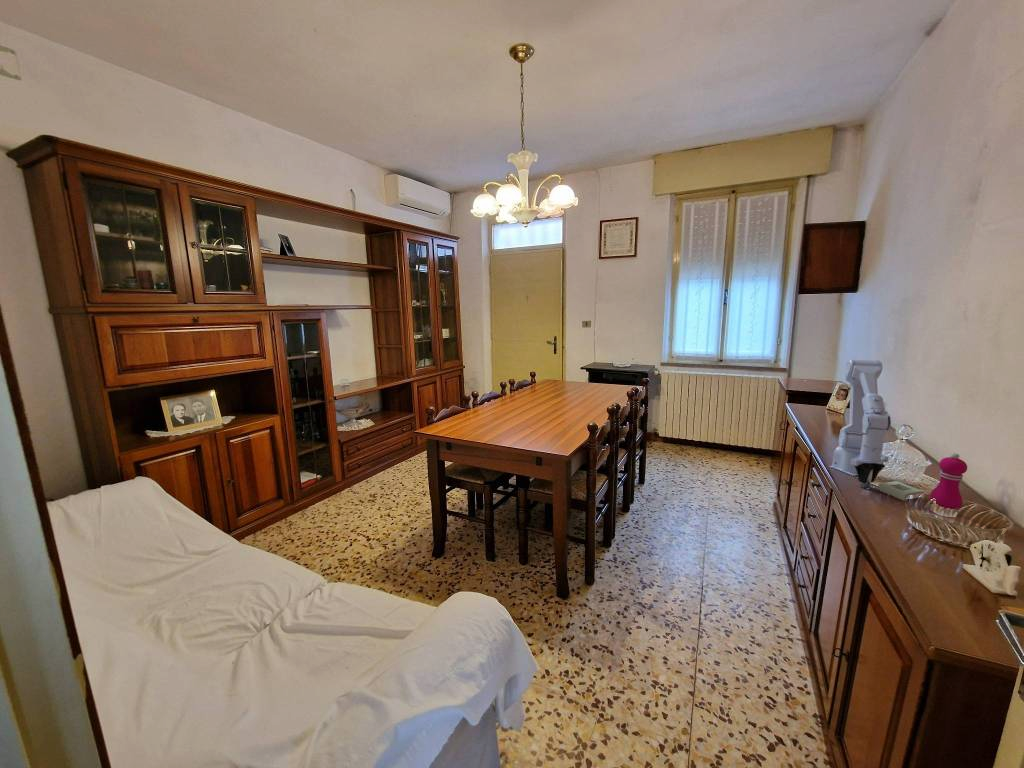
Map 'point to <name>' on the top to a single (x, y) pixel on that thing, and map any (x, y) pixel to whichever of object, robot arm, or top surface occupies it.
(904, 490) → the socket block
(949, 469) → the pepper mill
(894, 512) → the top surface
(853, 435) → the robot arm
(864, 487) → the peg
